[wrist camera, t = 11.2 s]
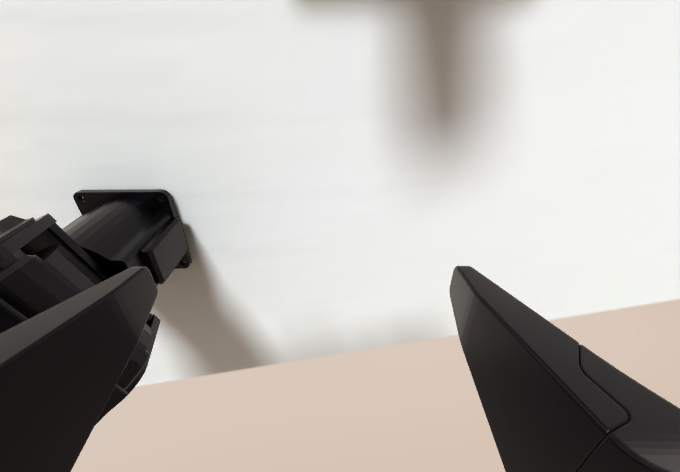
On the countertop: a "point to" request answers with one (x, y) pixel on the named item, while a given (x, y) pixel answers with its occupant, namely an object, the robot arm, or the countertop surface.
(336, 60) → the countertop surface
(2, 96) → the countertop surface
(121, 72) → the countertop surface
